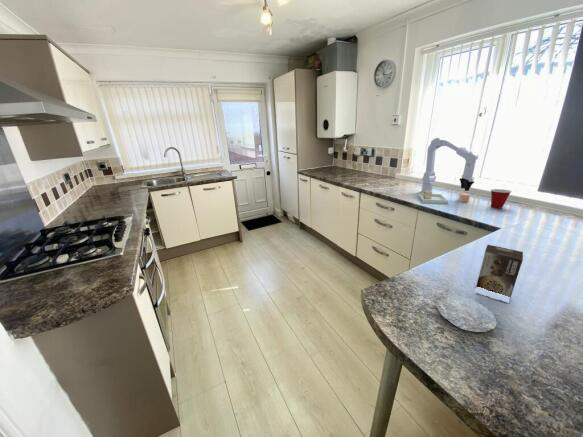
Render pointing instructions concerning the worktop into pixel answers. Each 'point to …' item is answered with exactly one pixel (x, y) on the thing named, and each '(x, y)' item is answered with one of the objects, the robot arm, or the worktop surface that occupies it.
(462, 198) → the terracotta block
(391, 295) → the worktop surface
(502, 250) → the coffee box
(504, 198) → the plastic cup
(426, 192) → the oak block
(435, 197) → the grey tray
